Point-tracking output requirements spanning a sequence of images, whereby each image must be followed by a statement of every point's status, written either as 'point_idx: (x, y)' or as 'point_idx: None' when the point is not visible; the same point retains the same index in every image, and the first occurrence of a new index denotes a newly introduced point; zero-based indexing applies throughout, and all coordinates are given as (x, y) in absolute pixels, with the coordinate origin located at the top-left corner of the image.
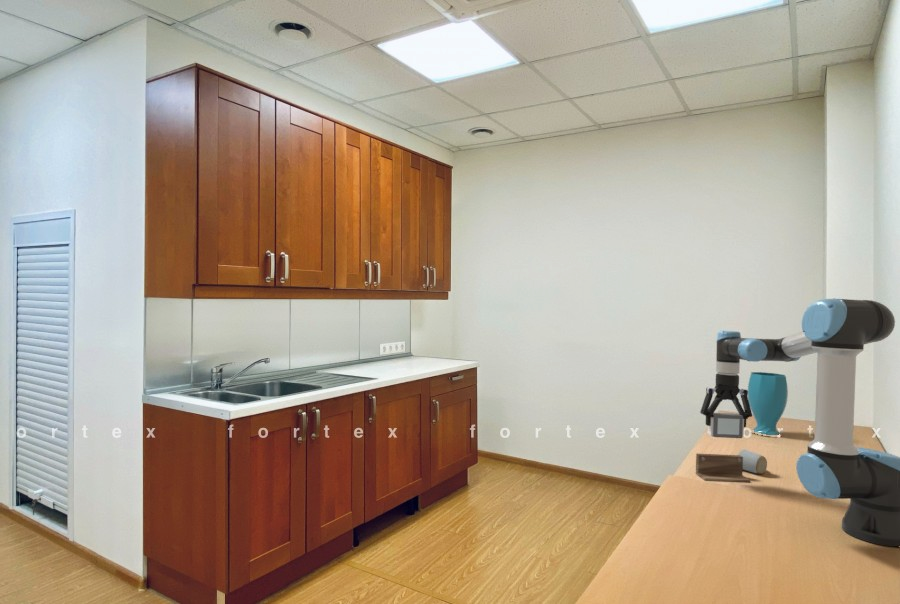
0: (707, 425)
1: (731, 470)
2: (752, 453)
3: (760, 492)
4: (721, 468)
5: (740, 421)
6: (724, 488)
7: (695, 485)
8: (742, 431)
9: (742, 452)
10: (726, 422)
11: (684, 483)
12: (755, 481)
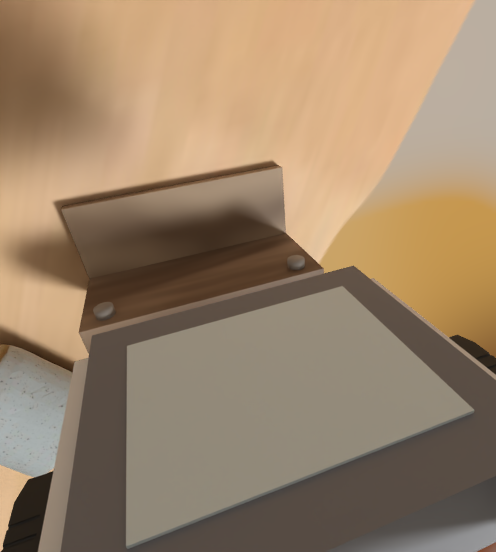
0: (459, 338)
1: (143, 275)
2: (6, 437)
3: (27, 17)
4: (192, 267)
5: (107, 508)
6: (223, 50)
7: (346, 67)
8: (80, 403)
9: None
10: (320, 406)
11: (381, 87)
12: (31, 233)
